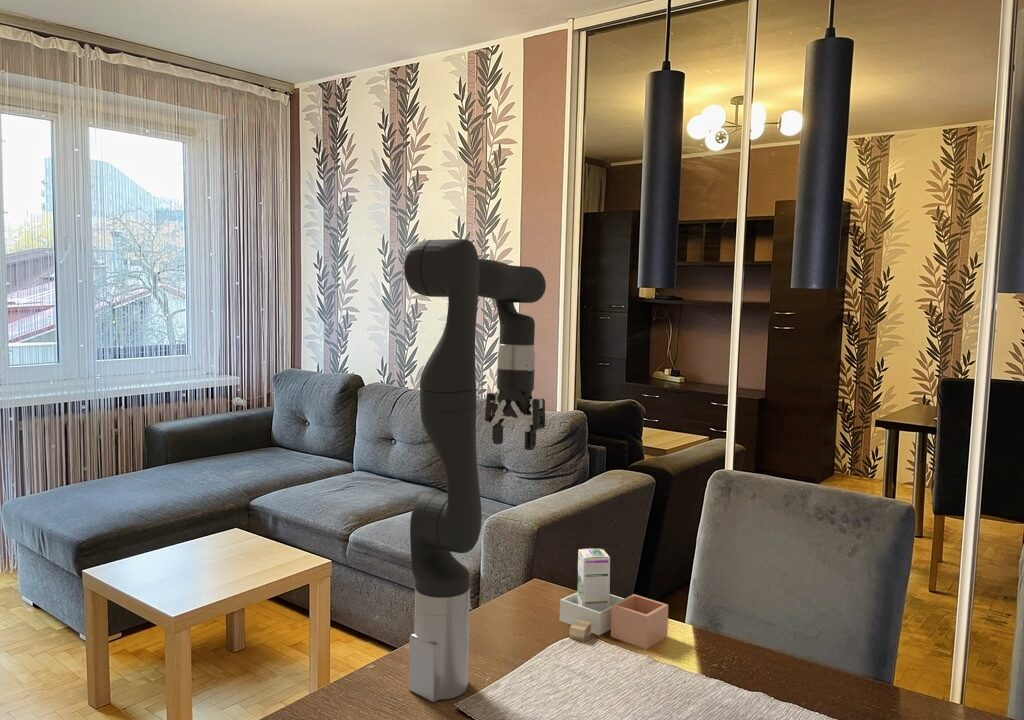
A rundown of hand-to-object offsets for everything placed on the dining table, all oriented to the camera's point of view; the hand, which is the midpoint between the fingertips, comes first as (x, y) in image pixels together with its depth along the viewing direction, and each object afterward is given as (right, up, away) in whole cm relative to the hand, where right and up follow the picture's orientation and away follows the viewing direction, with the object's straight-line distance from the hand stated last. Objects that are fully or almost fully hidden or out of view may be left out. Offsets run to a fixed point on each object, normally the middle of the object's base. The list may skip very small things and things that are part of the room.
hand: (513, 446), depth 150 cm
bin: (+17, -37, +4) cm, 41 cm away
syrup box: (+16, -37, +4) cm, 40 cm away
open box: (+25, -38, -3) cm, 45 cm away
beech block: (+13, -38, -4) cm, 40 cm away
